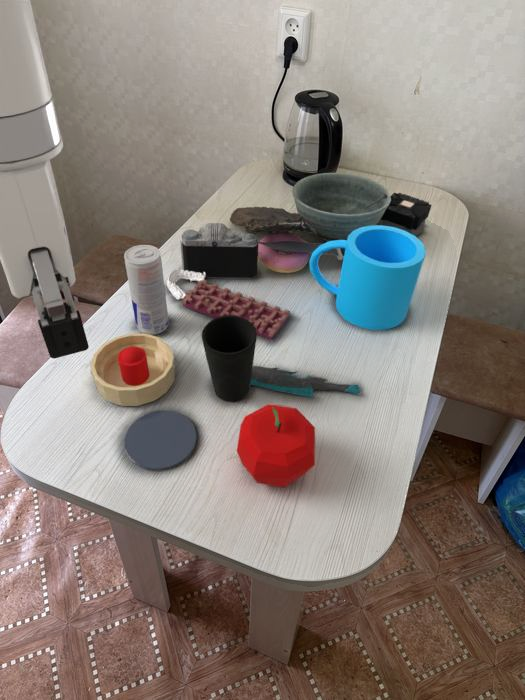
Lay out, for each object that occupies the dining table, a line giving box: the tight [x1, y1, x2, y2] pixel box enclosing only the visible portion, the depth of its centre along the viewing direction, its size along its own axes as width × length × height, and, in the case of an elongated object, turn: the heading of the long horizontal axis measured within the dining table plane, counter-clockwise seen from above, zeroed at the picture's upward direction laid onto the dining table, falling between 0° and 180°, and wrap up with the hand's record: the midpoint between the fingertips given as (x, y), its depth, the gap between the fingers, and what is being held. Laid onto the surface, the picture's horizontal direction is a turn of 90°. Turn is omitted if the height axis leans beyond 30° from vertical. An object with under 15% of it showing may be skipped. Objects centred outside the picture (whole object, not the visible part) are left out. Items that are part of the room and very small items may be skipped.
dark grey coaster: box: [123, 409, 197, 471], centre depth 71 cm, size 10×10×1 cm
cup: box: [201, 315, 258, 403], centre depth 74 cm, size 8×8×12 cm
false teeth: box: [166, 267, 206, 300], centre depth 96 cm, size 8×6×2 cm
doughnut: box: [258, 231, 311, 274], centre depth 103 cm, size 11×11×4 cm
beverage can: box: [123, 244, 170, 336], centre depth 83 cm, size 6×6×15 cm
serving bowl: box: [90, 333, 176, 407], centre depth 78 cm, size 12×12×4 cm
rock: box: [229, 206, 316, 235], centre depth 104 cm, size 25×4×15 cm
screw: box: [364, 194, 388, 209], centre depth 103 cm, size 8×1×1 cm, turn 137°
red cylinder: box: [118, 347, 149, 386], centre depth 77 cm, size 4×4×6 cm
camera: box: [179, 222, 259, 280], centre depth 98 cm, size 15×7×10 cm, turn 92°
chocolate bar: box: [182, 279, 291, 341], centre depth 92 cm, size 7×19×2 cm, turn 62°
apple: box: [236, 399, 316, 488], centre depth 66 cm, size 11×11×10 cm
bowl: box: [291, 172, 391, 242], centre depth 110 cm, size 21×21×10 cm
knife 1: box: [258, 241, 345, 261], centre depth 101 cm, size 30×2×5 cm
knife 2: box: [250, 365, 362, 398], centre depth 80 cm, size 24×1×5 cm
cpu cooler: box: [378, 192, 432, 237], centre depth 115 cm, size 10×6×10 cm
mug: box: [308, 224, 426, 331], centre depth 91 cm, size 20×13×13 cm
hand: (60, 318), depth 46 cm, fingers open, 9 cm apart
